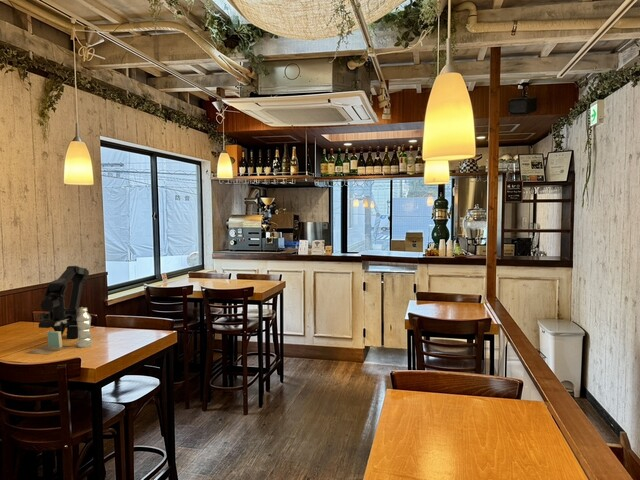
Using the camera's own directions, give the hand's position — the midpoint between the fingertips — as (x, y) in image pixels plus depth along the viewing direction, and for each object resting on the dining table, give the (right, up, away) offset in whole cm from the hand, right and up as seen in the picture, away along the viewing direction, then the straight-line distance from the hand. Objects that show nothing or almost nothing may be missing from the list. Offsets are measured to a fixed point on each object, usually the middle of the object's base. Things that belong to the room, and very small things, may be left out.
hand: (59, 337), depth 217 cm
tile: (-1, -4, -2) cm, 5 cm away
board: (-2, -5, -6) cm, 8 cm away
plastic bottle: (+14, -5, -2) cm, 15 cm away
